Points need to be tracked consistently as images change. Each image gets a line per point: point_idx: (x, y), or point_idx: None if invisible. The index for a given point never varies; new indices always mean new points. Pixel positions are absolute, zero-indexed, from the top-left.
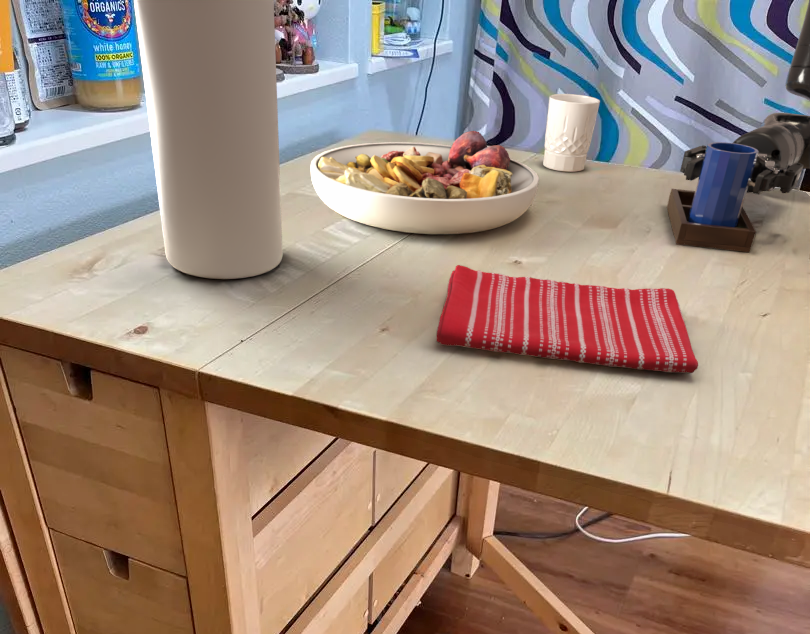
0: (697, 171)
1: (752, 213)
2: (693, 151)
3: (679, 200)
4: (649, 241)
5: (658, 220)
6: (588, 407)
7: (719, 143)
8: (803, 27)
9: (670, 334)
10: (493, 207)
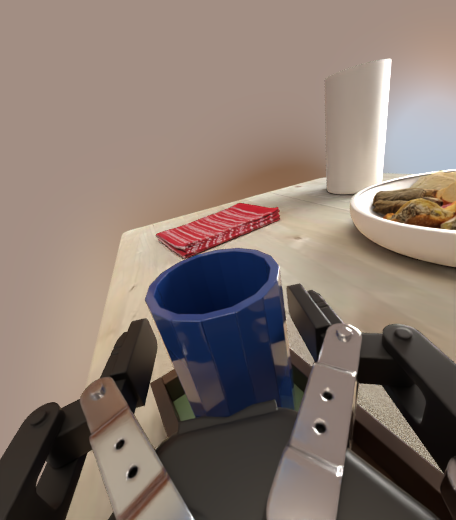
0: (300, 324)
1: None
2: (412, 352)
3: (393, 448)
4: (287, 325)
5: (395, 433)
6: (182, 223)
7: (266, 283)
8: None
9: (171, 235)
10: (351, 213)
